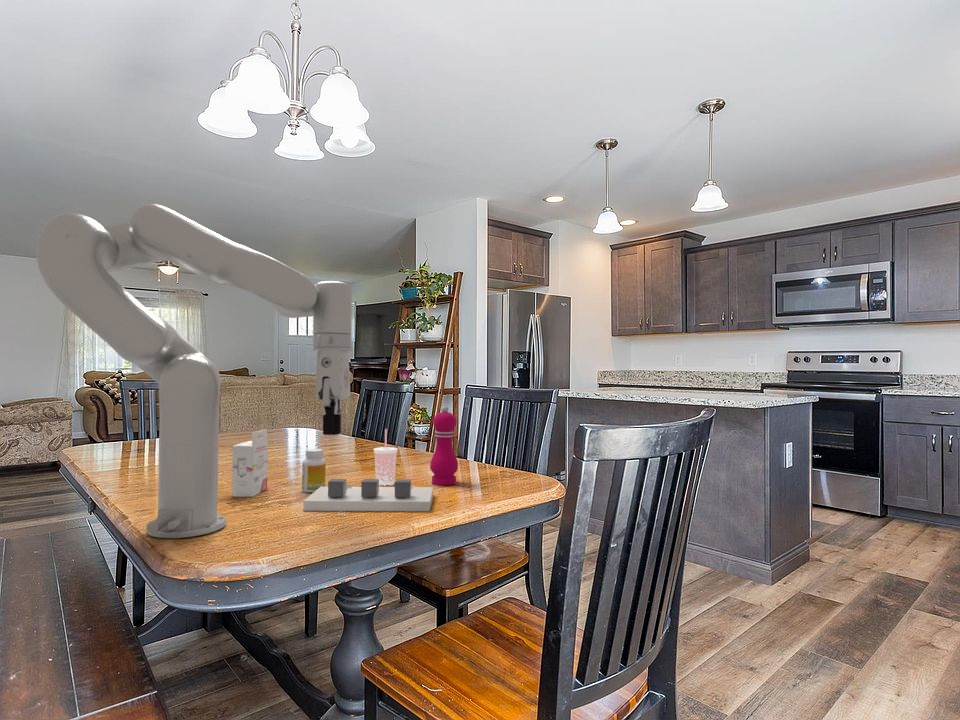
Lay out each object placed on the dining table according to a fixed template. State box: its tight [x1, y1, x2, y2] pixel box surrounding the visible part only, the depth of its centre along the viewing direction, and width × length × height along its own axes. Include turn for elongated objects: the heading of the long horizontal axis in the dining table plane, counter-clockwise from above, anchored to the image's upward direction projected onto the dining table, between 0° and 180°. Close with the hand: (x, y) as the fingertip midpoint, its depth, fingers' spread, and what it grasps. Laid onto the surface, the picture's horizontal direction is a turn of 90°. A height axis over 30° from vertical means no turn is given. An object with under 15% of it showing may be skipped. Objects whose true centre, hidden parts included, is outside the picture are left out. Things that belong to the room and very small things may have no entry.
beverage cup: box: [373, 428, 399, 487], centre depth 140 cm, size 6×6×14 cm
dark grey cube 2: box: [360, 478, 380, 497], centre depth 117 cm, size 3×3×3 cm
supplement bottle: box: [301, 448, 327, 493], centre depth 132 cm, size 5×5×10 cm
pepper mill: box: [429, 405, 459, 486], centre depth 142 cm, size 7×7×20 cm
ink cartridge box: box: [231, 428, 269, 498], centre depth 128 cm, size 9×5×15 cm, turn 179°
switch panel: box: [302, 486, 434, 512], centre depth 120 cm, size 14×26×2 cm, turn 92°
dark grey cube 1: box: [327, 478, 347, 497], centre depth 117 cm, size 3×3×3 cm
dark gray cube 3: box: [394, 478, 412, 497], centre depth 117 cm, size 3×3×3 cm
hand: (331, 434), depth 110 cm, fingers closed
